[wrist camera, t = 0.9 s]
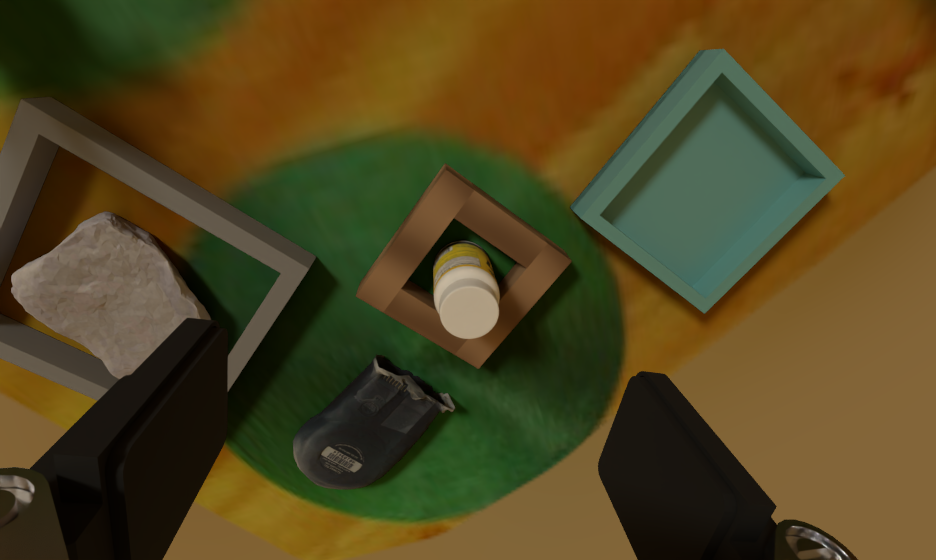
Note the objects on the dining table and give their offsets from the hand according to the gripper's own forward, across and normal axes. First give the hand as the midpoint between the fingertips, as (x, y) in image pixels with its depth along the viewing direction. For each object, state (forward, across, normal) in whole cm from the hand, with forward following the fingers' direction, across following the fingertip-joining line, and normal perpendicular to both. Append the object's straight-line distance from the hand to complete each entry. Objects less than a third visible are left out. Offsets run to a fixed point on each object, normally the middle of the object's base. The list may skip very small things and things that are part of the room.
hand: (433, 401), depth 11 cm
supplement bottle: (+27, -4, +7) cm, 29 cm away
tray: (+27, -21, -3) cm, 34 cm away
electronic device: (+28, +2, +24) cm, 37 cm away
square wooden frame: (+27, -4, +7) cm, 28 cm away
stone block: (+28, +21, +13) cm, 38 cm away
